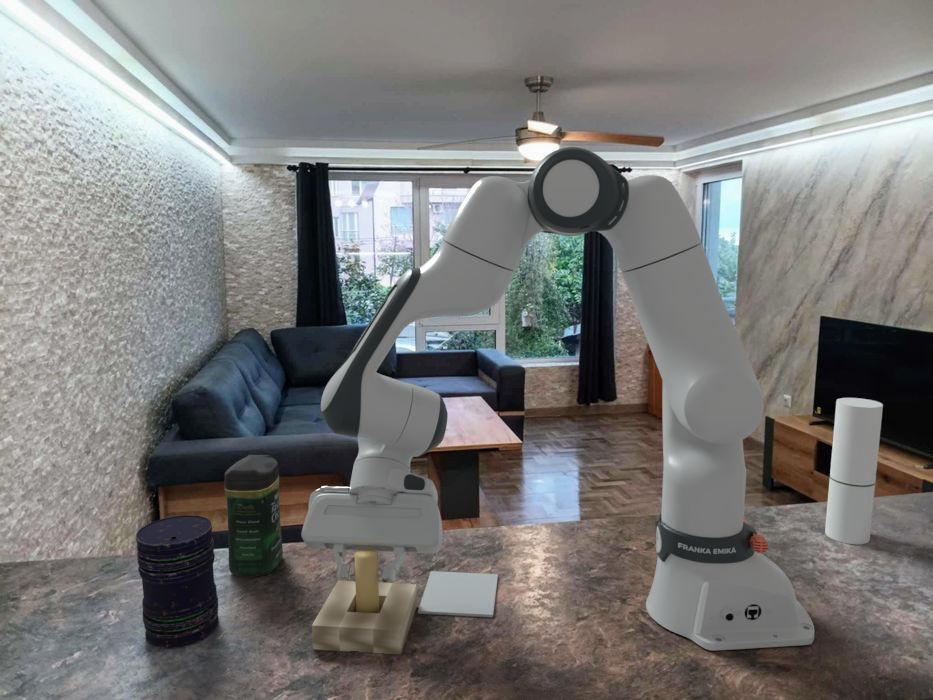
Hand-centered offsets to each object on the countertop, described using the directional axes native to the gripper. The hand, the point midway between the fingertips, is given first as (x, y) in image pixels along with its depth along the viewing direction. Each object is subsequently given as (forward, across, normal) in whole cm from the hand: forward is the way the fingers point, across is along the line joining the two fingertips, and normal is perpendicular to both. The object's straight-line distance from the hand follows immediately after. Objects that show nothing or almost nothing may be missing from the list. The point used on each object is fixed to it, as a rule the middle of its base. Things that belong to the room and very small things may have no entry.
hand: (365, 580), depth 95 cm
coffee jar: (-6, -23, +17) cm, 29 cm away
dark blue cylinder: (+7, -26, +4) cm, 27 cm away
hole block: (+5, 0, +6) cm, 7 cm away
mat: (-2, +12, +13) cm, 18 cm away
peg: (+5, 0, +6) cm, 7 cm away
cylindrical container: (-21, +80, +32) cm, 89 cm away
